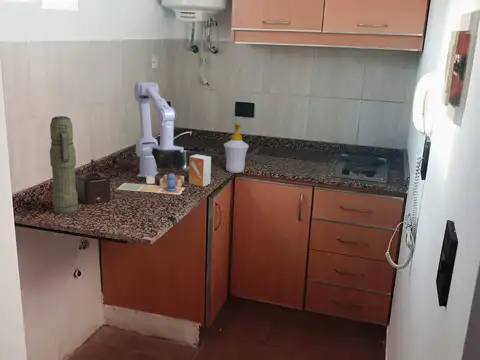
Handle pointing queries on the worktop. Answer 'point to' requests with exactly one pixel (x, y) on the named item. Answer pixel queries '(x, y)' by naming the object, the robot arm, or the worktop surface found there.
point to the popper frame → (177, 183)
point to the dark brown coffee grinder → (95, 184)
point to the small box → (199, 170)
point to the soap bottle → (235, 152)
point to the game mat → (149, 188)
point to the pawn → (171, 183)
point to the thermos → (63, 166)
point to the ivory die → (150, 178)
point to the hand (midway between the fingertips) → (166, 166)
